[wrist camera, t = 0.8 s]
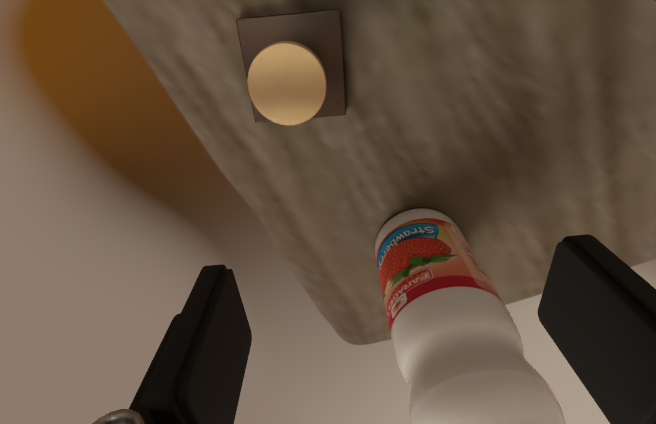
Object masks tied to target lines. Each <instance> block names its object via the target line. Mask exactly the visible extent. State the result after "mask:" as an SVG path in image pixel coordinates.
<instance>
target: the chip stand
mask: <svg viewBox="0 0 656 424" xmlns="http://www.w3.org/2000/svg"><path fill="white" fill-rule="evenodd" d="M236 24H237V29H238V34H239V40H240V45H241V50H242V55H243V61H244V66H245V71H246V76H247V79H248V72H249V68H250V66H251V64H252V62H253V60H254V58H255V57H256V56H257V55H258V54H259V53H260V52H261V51H262V50H263V49H265V48H266V47H267V46H269V45H271V44H273V43H276V42H280V41H294V42H297V43H300V44H303V45H305V46H306V47H308V48H309V49H311V50H312V51H313V52H314V53H315V54H316V55H317V57H318V58H319V59H320V61H321V63H322V65H323V67H324V70H325V74H326V86H327V89H326V96H325V99H324V102H323V104H322V106H321V108H320V109H319V111H318V112H317V113H316V114H315V115H314V116H313V117H312V118H315V117H327V116H339V115H346V107H345V89H344V70H343V52H342V33H341V15H340V9H335V10H324V11H314V12H303V13H292V14H282V15H271V16H260V17H250V18H239V19H236ZM247 82H248V81H247ZM251 102H252V100H251ZM252 108H253V113H254V118H255V122H267V121H271V120H269V119H267V118H266V117H265V116H263V115H262V114H261V113H260V112H259V111H258V110H257V108H256V107H255V105H254V104H253V102H252Z"/></svg>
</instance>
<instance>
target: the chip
mask: <svg viewBox="0 0 656 424" xmlns="http://www.w3.org/2000/svg"><path fill="white" fill-rule="evenodd" d="M247 81H248V91H249V95H250V97H251V100H252V102H253V104H254V105H255V107H256V108H257V110H258V111H259V112H260V113H261V114H262V115H263V116H265V117H266V118H267V119H269V120H271V121H273V122H275V123H278V124H282V125H296V124H300V123H303V122H305V121H307V120H309V119H311V118H312V117H313V116H314V115H315V114H316V113H317V112H318V111H319V109H320V108H321V106H322V104H323V102H324V99H325V96H326V89H327V86H326V74H325V70H324V67H323V65H322V63H321V61H320V59H319V58H318V57H317V55H316V54H315V53H314V52H313V51H312V50H311V49H309V48H308V47H306V46H305V45H303V44H300V43H297V42H294V41H280V42H276V43H273V44H271V45H269V46H267V47H266V48H265V49H263V50H262V51H261V52H260V53H259V54H258V55H257V56H256V57H255V58H254V60H253V62H252V64H251V66H250V68H249V72H248V79H247Z"/></svg>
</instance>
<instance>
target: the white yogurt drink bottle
mask: <svg viewBox="0 0 656 424" xmlns="http://www.w3.org/2000/svg"><path fill="white" fill-rule="evenodd" d="M375 257H376V262H377V267H378V272H379V277H380V282H381V287H382V292H383V297H384V302H385V307H386V312H387V317H388V322H389V327H390V333H391V339H392V344H393V348H394V352H395V356H396V359H397V363H398V366H399V368H400V371H401V373H402V375H403V377H404V378H405V380H406V381H407V383H408V384H409V385H410V405H409V410H410V422H411V424H565V420H564V416H563V413H562V410H561V407H560V405H559V403H558V401H557V399H556V397H555V395H554V393H553V391H552V389H551V388H550V386H549V385H548V384H547V382H546V381H545V380H544V379H543V377H542V376H541V375H540V374H539V373H538V372H537V371H536V370H535V369H534V368H533V367H532V366H531V365H530V364H529V363H528V362H527V361H526V359H525V358H524V351H523V344H522V340H521V337H520V334H519V332H518V330H517V327H516V325H515V323H514V321H513V319H512V317H511V316H510V313H509V312H508V310H507V308H506V307H505V305H504V304H503V302H502V300H501V299H500V297H499V295H498V294H497V292H496V290H495V289H494V287H493V285H492V284H491V282H490V280H489V279H488V277H487V275H486V273H485V272H484V270H483V268H482V267H481V265H480V263H479V262H478V260H477V258H476V257H475V255H474V253H473V251H472V250H471V248H470V246H469V245H468V243H467V241H466V240H465V238H464V236H463V235H462V233H461V231H460V230H459V228H458V226H457V225H456V224H455V223H454V222H453V221H452V220H451V219H450V218H449V217H448V216H446V215H445V214H443V213H441V212H439V211H436V210H432V209H424V208H419V209H412V210H408V211H404V212H402V213H400V214H398V215H396V216H394V217H393V218H391V219H390V220H389V221H388V222H387V223H386V224H385V225H384V226H383V227H382V228H381V230H380V232H379V233H378V236H377V239H376V242H375Z"/></svg>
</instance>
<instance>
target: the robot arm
mask: <svg viewBox="0 0 656 424" xmlns="http://www.w3.org/2000/svg"><path fill="white" fill-rule="evenodd" d="M538 317H539V319H540V322H541V323H542V325H543V326H544V328H545V329H546V331H547V332H548V334H549V335H550V336H551V338H552V339H553V341H554V342H555V343H556V345H557V347H558V348H559V350H560V351H561V352H562V354H563V355H564V357H565V358H566V360H567V361H568V363H569V364H570V366H571V367H572V368H573V370H574V371H575V373H576V374H577V376H578V377H579V379H580V380H581V382H582V383H583V384H584V386H585V387H586V389H587V390H588V391H589V393H590V395H591V396H592V398H593V399H594V400H595V402H596V403H597V405H598V406H599V408H600V409H601V411H602V412H603V413H604V415H605V416H606V418H607V419H608V421H609V422H610V424H656V289H654V287H652V286H651V285H650V284H649V283H648V282H647V281H645V280H644V279H643V278H642V277H641V276H639V275H638V274H637V273H636V272H634V271H633V270H632V269H631V268H630V267H629V266H628V265H626V264H625V263H624V262H623V261H622V260H621V259H619V258H618V257H617V256H616V255H615V254H614V253H612V252H611V251H610V250H609V249H608V248H606V247H605V246H604V245H603V244H602V243H601V242H599V241H598V240H597V239H596V238H595V237H593V236H591V235H577V236H567V237H565V238H564V239H563V240H562V242H559V243H558V244H557V246H556V250H555V253H554V257H553V260H552V263H551V267H550V270H549V274H548V277H547V281H546V284H545V287H544V291H543V294H542V298H541V301H540V305H539V308H538ZM251 337H252V336H251V329H250V326H249V323H248V320H247V316H246V313H245V310H244V306H243V303H242V300H241V297H240V293H239V290H238V287H237V283H236V280H235V277H234V274H233V271H232V269H227V268H226V266H225V265H212V266H205V267H203V268H202V270H201V272H200V274H199V276H198V278H197V280H196V283H195V285H194V287H193V289H192V291H191V293H190V295H189V298H188V300H187V302H186V304H185V306H184V308H183V310H182V312H181V314H177V315H176V316H175V317H174V318H173V320H172V322H171V324H170V326H169V328H168V330H167V332H166V334H165V336H164V338H163V340H162V342H161V344H160V346H159V348H158V350H157V352H156V354H155V357H154V358H153V360H152V362H151V365H150V367H149V369H148V371H147V373H146V375H145V377H144V379H143V381H142V383H141V385H140V387H139V389H138V391H137V393H136V396H135V397H134V400H133V402H132V403H131V406H130V407H129V409H121V410H117V411H113V412H110V413H108V414H106V415H105V416H103V417H101V418H99V419H98V420H96V421H95V422H94V423H92V424H234V419H235V415H236V410H237V405H238V401H239V396H240V392H241V387H242V383H243V378H244V373H245V369H246V365H247V360H248V355H249V351H250V346H251V340H252V338H251Z"/></svg>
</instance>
